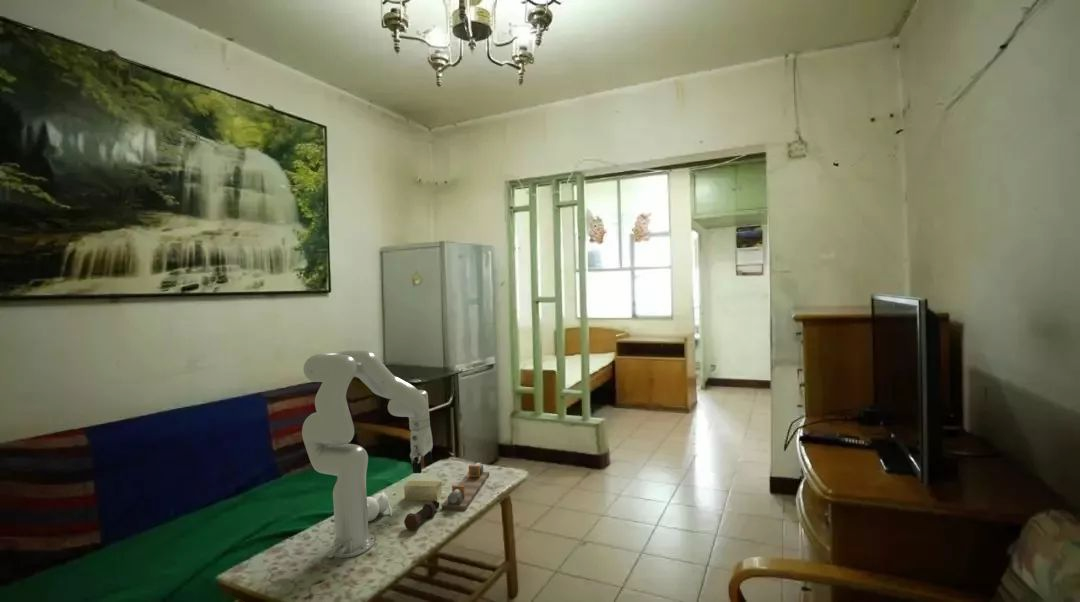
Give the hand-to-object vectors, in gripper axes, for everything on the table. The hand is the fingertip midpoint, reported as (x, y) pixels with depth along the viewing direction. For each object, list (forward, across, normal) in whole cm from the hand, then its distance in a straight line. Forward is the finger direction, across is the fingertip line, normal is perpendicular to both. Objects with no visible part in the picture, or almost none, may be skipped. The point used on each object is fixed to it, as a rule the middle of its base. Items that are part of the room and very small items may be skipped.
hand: (422, 467), depth 172 cm
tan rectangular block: (+11, -1, 0) cm, 11 cm away
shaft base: (+11, +5, -15) cm, 20 cm away
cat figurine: (+11, -17, +11) cm, 23 cm away
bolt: (+11, -17, -8) cm, 22 cm away
